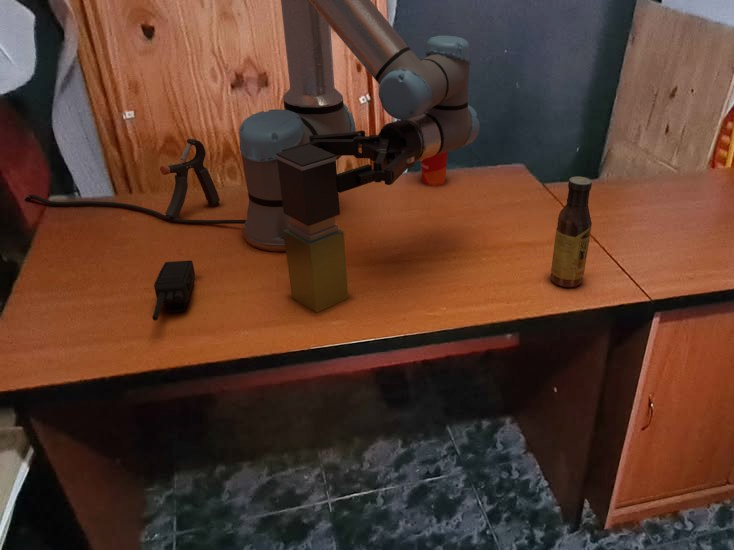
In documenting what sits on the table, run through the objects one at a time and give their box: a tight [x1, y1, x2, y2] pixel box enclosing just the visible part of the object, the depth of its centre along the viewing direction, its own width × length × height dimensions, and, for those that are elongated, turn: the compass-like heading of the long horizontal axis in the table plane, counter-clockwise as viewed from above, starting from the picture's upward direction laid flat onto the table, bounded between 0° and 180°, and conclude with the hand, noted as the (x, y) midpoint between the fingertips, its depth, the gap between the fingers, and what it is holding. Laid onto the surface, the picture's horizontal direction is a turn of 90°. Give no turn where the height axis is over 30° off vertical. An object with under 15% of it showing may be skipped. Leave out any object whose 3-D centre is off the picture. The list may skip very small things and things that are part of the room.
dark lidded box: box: [276, 144, 341, 226], centre depth 109 cm, size 6×6×10 cm
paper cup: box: [420, 151, 449, 187], centre depth 162 cm, size 8×8×14 cm
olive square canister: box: [283, 216, 349, 314], centre depth 117 cm, size 7×7×16 cm
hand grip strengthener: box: [159, 138, 221, 220], centre depth 141 cm, size 2×12×15 cm, turn 146°
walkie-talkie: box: [152, 259, 196, 321], centre depth 115 cm, size 6×6×20 cm
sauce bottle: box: [550, 175, 593, 288], centre depth 125 cm, size 6×6×20 cm
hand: (310, 171), depth 108 cm, fingers open, 13 cm apart
